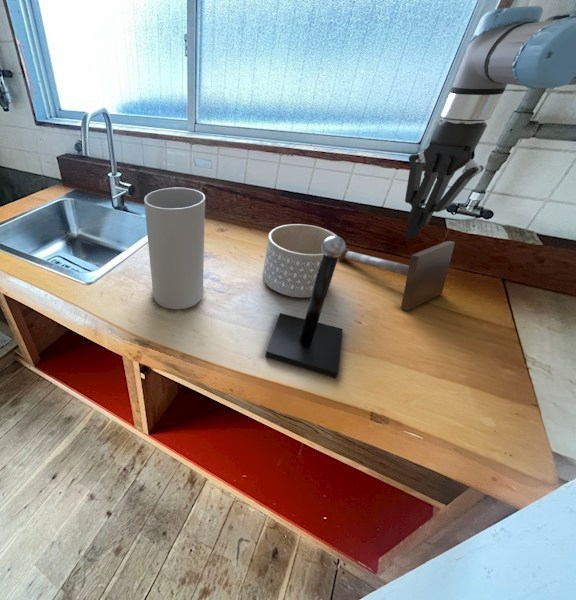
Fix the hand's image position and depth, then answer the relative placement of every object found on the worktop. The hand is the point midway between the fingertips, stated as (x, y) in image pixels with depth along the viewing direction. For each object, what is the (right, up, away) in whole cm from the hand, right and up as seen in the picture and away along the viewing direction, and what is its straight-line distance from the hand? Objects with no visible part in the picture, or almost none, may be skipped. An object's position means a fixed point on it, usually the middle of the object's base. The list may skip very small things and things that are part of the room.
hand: (410, 236), depth 73 cm
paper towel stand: (-1, -9, +11) cm, 14 cm away
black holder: (-24, -15, -17) cm, 33 cm away
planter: (-23, -10, +10) cm, 27 cm away
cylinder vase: (-53, -14, +7) cm, 56 cm away
